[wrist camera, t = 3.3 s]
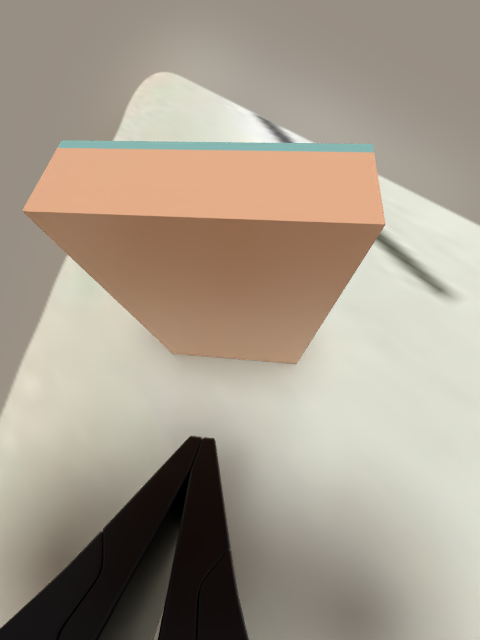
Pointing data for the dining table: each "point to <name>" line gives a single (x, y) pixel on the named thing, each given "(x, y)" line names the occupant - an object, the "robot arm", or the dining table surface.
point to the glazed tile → (215, 235)
